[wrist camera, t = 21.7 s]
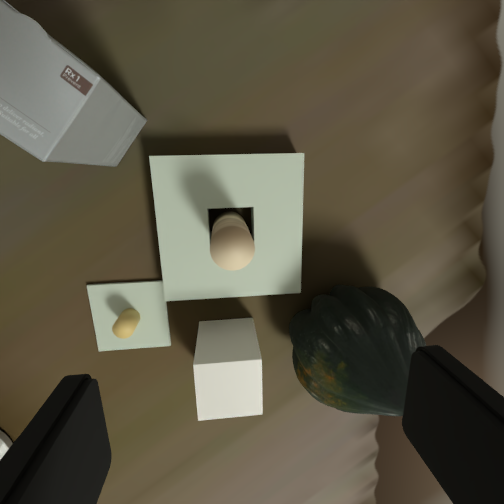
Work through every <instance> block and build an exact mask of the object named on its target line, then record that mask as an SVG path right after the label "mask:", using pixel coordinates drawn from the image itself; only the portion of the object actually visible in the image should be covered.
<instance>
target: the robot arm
mask: <svg viewBox="0 0 504 504" xmlns="http://www.w3.org/2000/svg"><path fill="white" fill-rule="evenodd" d="M402 426H403V430H404V432H405V434H406V436H407V438H408V439H409V440H410V442H411V443H412V445H413V446H414V448H415V449H416V451H417V452H418V453H419V455H420V456H421V458H422V459H423V461H424V462H425V464H426V465H427V466H428V468H429V469H430V471H431V472H432V474H433V475H434V476H435V478H436V479H437V481H438V482H439V484H440V485H441V487H442V488H443V489H444V491H445V492H446V494H447V495H448V497H449V498H450V500H451V501H452V502H453V504H504V397H503V396H502V395H500V394H499V393H498V392H497V391H495V390H494V389H493V388H491V387H490V386H489V385H488V384H486V383H485V382H484V381H483V380H482V379H481V378H479V377H478V376H477V375H476V374H474V373H473V372H472V371H471V370H469V369H468V368H467V367H466V366H464V365H463V364H462V363H461V362H460V361H458V360H457V359H456V358H455V357H453V356H452V355H451V354H450V353H448V352H447V351H446V350H445V349H443V348H442V347H440V346H438V345H433V346H420V347H418V348H417V349H416V351H415V352H413V353H412V356H411V362H410V369H409V376H408V383H407V390H406V397H405V404H404V411H403V418H402ZM110 464H111V448H110V443H109V438H108V433H107V428H106V422H105V417H104V412H103V407H102V402H101V397H100V391H99V386H98V382H97V380H96V379H91V376H90V375H89V374H80V375H68V376H65V377H64V378H63V379H62V380H61V381H60V383H59V384H58V385H57V387H56V388H55V389H54V391H53V392H52V393H51V395H50V396H49V397H48V399H47V400H46V401H45V403H44V404H43V405H42V407H41V408H40V409H39V411H38V412H37V413H36V415H35V416H34V417H33V419H32V420H31V421H30V423H29V424H28V425H27V427H26V428H25V429H24V431H23V432H22V433H21V435H20V436H19V437H18V438H17V439H16V440H15V441H14V443H12V441H11V440H10V439H9V437H8V436H7V435H6V434H5V433H4V432H2V431H1V430H0V504H96V503H97V501H98V498H99V495H100V493H101V490H102V487H103V484H104V482H105V479H106V476H107V474H108V471H109V468H110Z"/></svg>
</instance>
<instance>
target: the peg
mask: <svg viewBox="0 0 504 504" xmlns="http://www.w3.org/2000/svg"><path fill="white" fill-rule="evenodd" d="M254 253H255V244H254V241H253V239H252V236H251V234H250V232H249V230H248V227H247V225H246V223H245V221H244V219H243V218H242V216H241V215H239V214H238V213H236V212H232V211H227V212H223V213H221V214H220V215H218V216H217V217H216V219H215V220H214V223H213V229H212V236H211V242H210V254H211V257H212V259H213V261H214V262H215V263H216V264H217V265H218V266H219V267H221V268H223V269H225V270H230V271H234V270H239V269H242V268H244V267H245V266H247V265H248V264H249V263H250V262H251V260H252V259H253V256H254Z"/></svg>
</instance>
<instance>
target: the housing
mask: <svg viewBox="0 0 504 504" xmlns="http://www.w3.org/2000/svg"><path fill="white" fill-rule="evenodd" d="M193 367H194V378H195V390H196V401H197V413H198V421H200V420H210V419H220V418H231V417H241V416H251V415H261V414H263V412H262V358H261V354H260V349H259V344H258V340H257V335H256V330H255V326H254V321H253V318H241V319H227V320H212V321H199V327H198V335H197V342H196V349H195V356H194V364H193Z"/></svg>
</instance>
